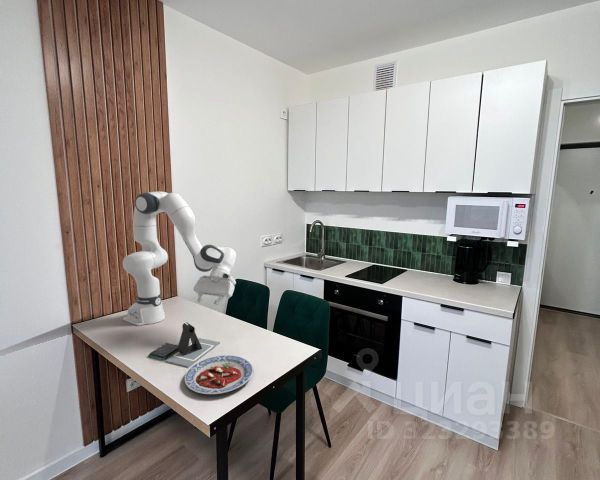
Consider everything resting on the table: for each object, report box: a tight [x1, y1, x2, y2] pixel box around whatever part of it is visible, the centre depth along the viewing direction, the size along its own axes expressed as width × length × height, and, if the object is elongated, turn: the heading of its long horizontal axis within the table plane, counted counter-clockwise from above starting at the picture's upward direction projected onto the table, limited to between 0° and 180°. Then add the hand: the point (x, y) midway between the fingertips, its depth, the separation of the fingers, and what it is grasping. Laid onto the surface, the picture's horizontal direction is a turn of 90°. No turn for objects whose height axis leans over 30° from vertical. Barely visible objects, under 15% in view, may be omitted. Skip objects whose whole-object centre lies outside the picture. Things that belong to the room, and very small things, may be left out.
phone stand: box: [177, 321, 202, 356], centre depth 147 cm, size 9×6×12 cm, turn 134°
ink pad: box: [147, 342, 179, 362], centre depth 146 cm, size 9×11×2 cm
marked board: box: [164, 337, 221, 369], centre depth 147 cm, size 12×22×1 cm, turn 159°
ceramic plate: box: [184, 354, 254, 395], centre depth 128 cm, size 26×26×3 cm
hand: (207, 303), depth 154 cm, fingers open, 8 cm apart
